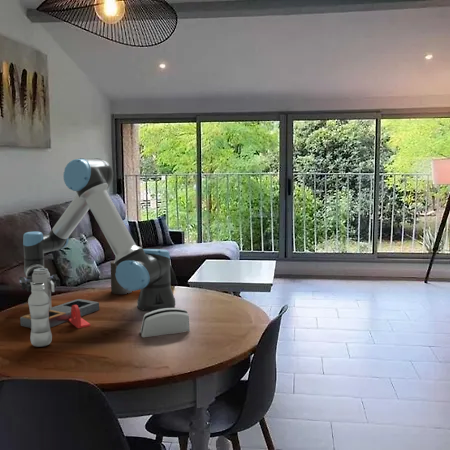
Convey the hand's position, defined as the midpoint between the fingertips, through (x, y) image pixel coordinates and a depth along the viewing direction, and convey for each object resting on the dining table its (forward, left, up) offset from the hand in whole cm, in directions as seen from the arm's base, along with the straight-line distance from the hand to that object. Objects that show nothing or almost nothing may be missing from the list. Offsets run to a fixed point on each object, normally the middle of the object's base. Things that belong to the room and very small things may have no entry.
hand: (43, 289), depth 181 cm
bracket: (-6, -9, -14) cm, 18 cm away
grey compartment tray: (+4, -11, -14) cm, 18 cm away
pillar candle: (+9, -51, -14) cm, 54 cm away
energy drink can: (+4, -3, -9) cm, 11 cm away
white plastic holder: (-41, -16, -14) cm, 46 cm away
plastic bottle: (-13, +13, -14) cm, 23 cm away
